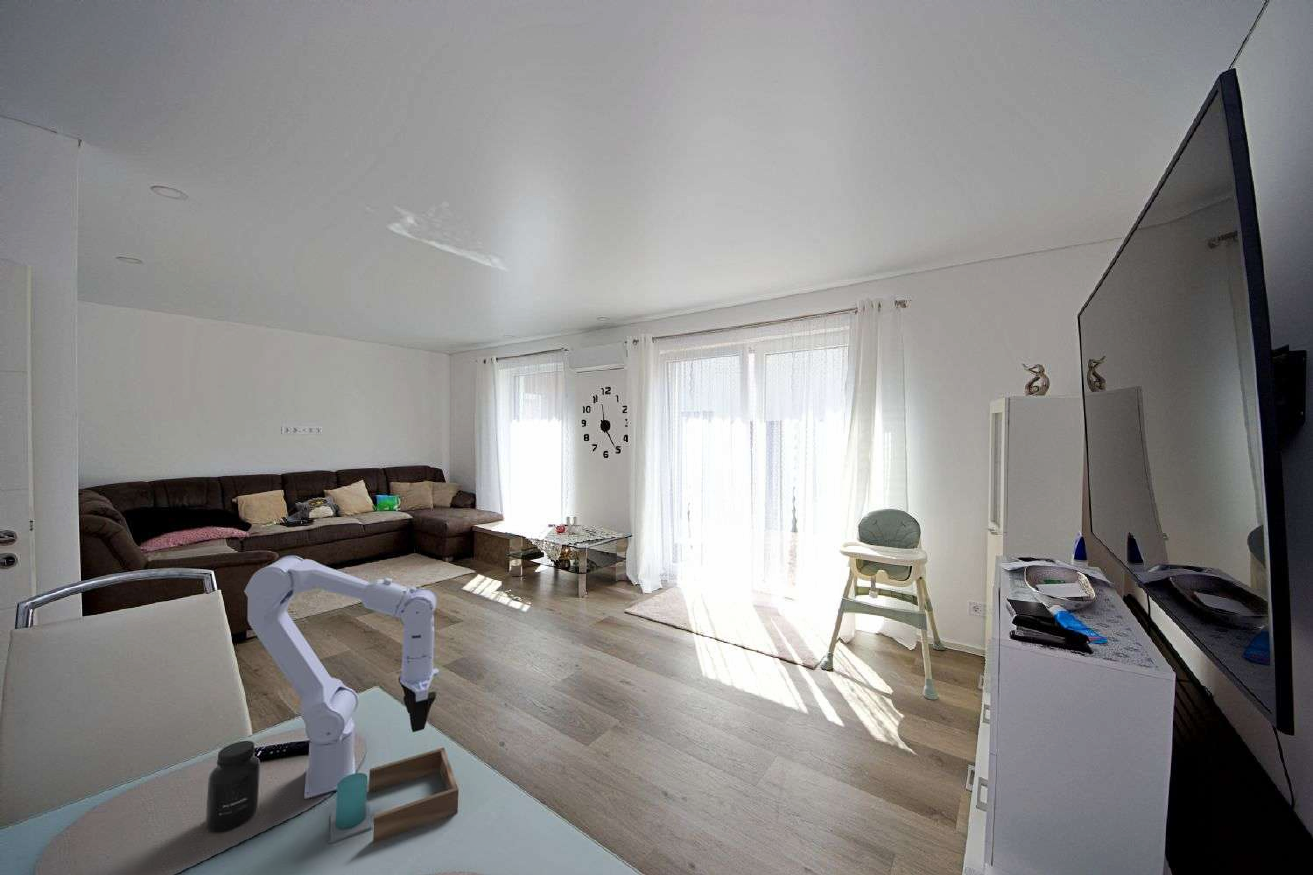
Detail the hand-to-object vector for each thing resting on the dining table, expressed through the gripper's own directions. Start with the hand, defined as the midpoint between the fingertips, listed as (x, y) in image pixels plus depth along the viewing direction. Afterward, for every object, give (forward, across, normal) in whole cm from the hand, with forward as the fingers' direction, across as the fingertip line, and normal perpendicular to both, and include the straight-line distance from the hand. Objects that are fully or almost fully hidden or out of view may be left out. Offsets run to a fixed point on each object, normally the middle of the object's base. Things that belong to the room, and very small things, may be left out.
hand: (415, 720), depth 98 cm
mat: (+9, -10, +11) cm, 18 cm away
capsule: (+9, -10, +11) cm, 17 cm away
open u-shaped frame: (+9, -10, +1) cm, 14 cm away
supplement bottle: (+10, +1, +28) cm, 30 cm away
